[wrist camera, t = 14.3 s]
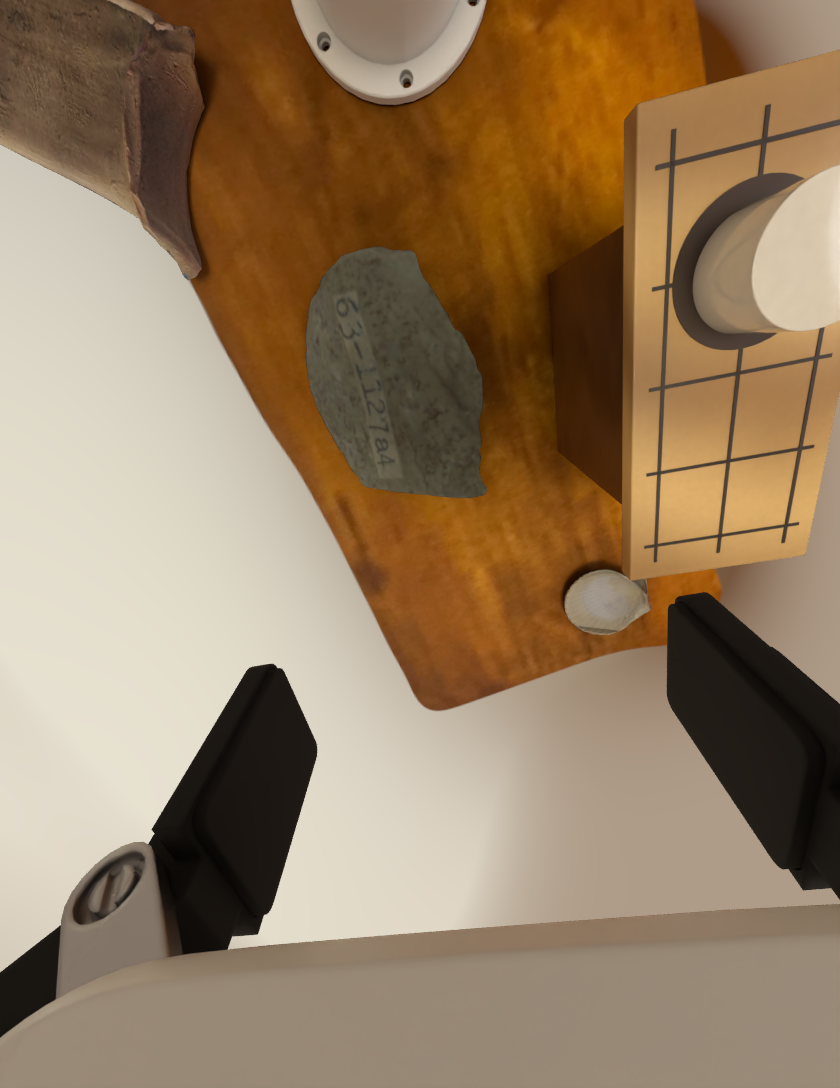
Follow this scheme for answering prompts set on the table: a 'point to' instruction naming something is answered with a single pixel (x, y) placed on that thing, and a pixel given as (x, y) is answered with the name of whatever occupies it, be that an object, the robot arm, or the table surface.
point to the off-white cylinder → (775, 262)
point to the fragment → (106, 106)
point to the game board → (699, 334)
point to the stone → (395, 377)
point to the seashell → (605, 601)
